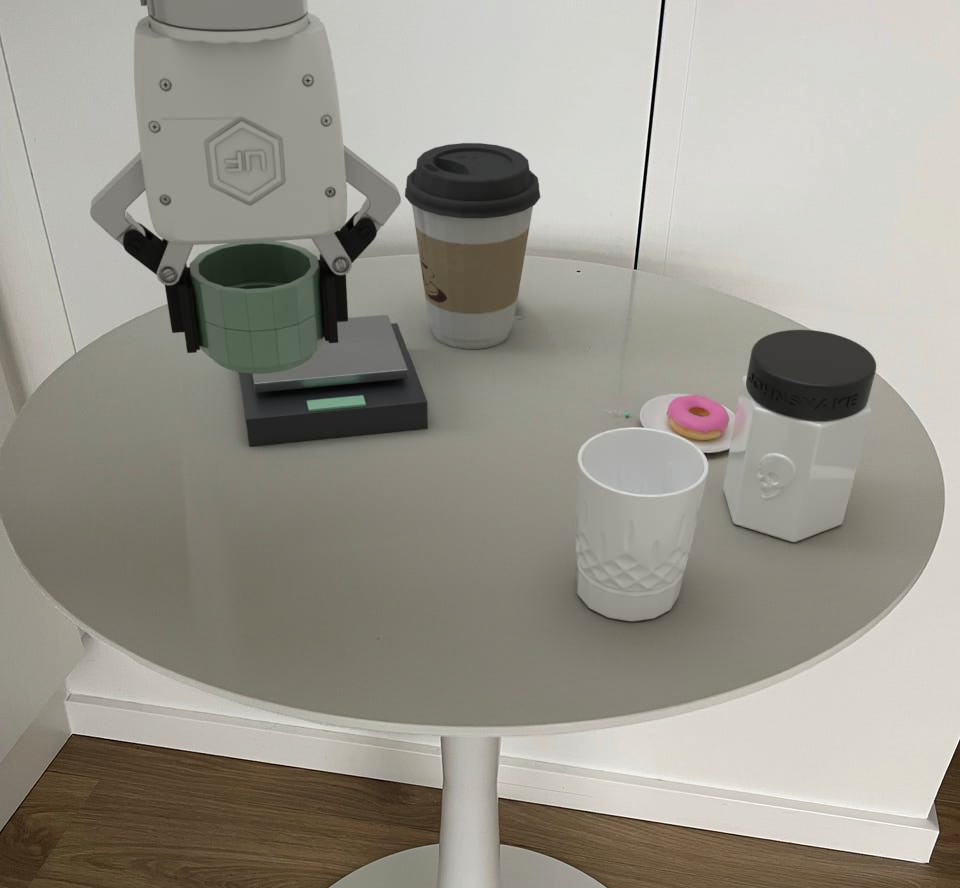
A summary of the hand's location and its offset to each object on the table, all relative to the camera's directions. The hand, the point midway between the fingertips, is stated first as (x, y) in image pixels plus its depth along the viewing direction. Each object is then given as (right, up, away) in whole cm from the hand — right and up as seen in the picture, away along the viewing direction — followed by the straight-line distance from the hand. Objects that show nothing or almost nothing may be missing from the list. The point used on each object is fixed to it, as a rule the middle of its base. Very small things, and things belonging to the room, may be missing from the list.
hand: (261, 335), depth 67 cm
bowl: (0, -1, +1) cm, 1 cm away
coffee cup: (+12, +10, +39) cm, 42 cm away
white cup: (+22, -14, +10) cm, 28 cm away
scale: (0, +3, +30) cm, 30 cm away
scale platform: (0, +6, +28) cm, 29 cm away
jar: (+34, -8, +18) cm, 40 cm away
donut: (+28, -1, +26) cm, 38 cm away
